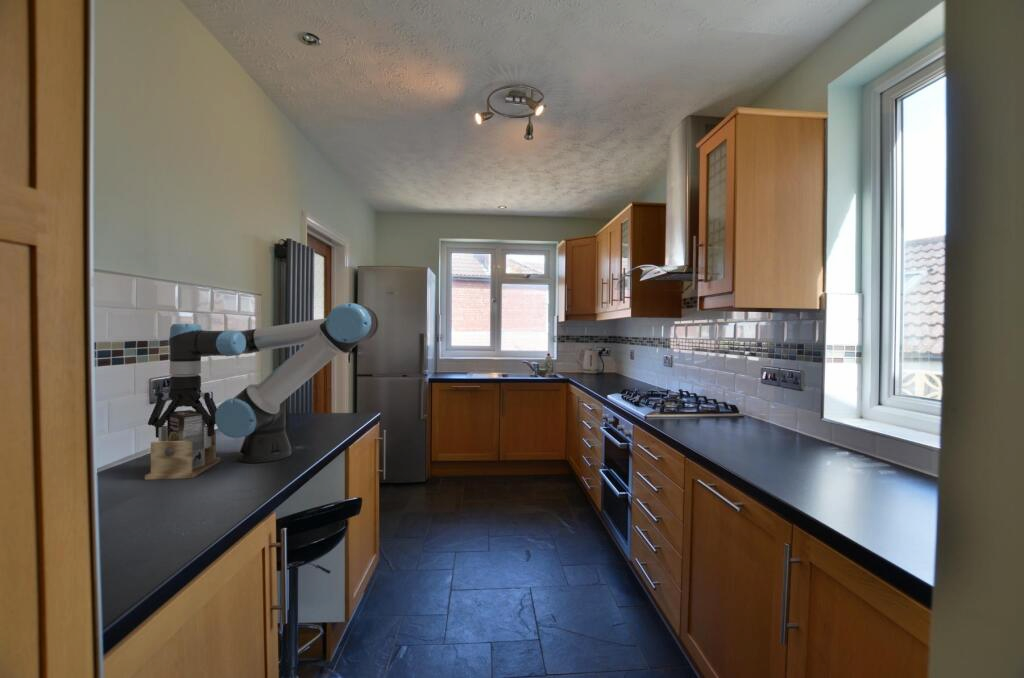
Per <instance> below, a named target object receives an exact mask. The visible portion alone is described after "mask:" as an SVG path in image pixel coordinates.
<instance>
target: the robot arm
mask: <svg viewBox="0 0 1024 678" xmlns="http://www.w3.org/2000/svg"><path fill="white" fill-rule="evenodd" d="M169 329H170V332H169V338H168V340H169V375H171V376H169V389H170V390H169V392H166V391H163V392H159V393H158V392H157V395H156V402H155V405H154V406H153V407H154V408H153V410H152V413H151V414H150V417H149V419H148V421H147V425H148V426H153V427H155V437H156V439H157V438H158V441H167V425H166V424H167V418H168V415H169V413H171V412H174V411H177V410H176V409H177V408H179V407H181V408H182V407H186V408H187V407H191V408H192V409H193V410H194V411H196V412H197V413H198V414H202V420H203V421H204V422H205V423H206V426H204V448H208V447H210V446H211V436H213V435H214V430H215V425H216V427H217V429H218V430H219V431H220V432H221V433H222V434H223V435H224V436H227V437H229V438H233V439H239V438H243V441H242V444H241V446H240V450H239V453H238V460H239V462H243V463H249V464H256V463H268V462H273V461H278V460H283V459H285V458H288V457H289V456H291V454H292V447H291V443H290V440H289V438H288V435H287V433H286V421H287V420H286V418H287V417H286V416H287V412H286V411H287V410H286V408H287V406H286V405H287V402H286V401H287V399H288V397H290V396H291V395H292V394H294V393H295V392H296V391H297V390H298V389H300V388H301V386H303V385H305V383H306V382H308V381H309V380H310V379H311V378H312V377H313V376H314V375H316V374H317V373H318V372H319V371H320V370H321V369H323V368H324V367H325V366H326V365H327V364H329V363H330V362H331V361H332V360H333V359H334V358H336V356H338V355H339V354H348V353H349V352H350V351H351V350H353V349H354V348H355V347H356V346H357V345H358V344H359V343H361V342H365V341H368V340H370V339H371V338H372V337H374V336H375V335H376V333H377V331H378V330H379V319H378V315H377V314H376V313H375V311H373V310H372V309H371V308H369V307H367V306H364V305H360V304H358V303H354V302H353V303H351V302H346V303H341V304H339V305H337V306H335V307H333V308H332V309H331V310H330V312H329V313H328V314H327V317H325V318H319V319H312V320H305V321H299V322H294V323H293V322H292V323H285V324H279V325H274V326H267V327H260V328H252V329H245V330H203V329H202V325H201V324H199V323H173V324H172V325H170V328H169ZM300 345H303V346H301V347H300V348H299V349H298V350H296V352H295V353H293V354H292V355H291V356H290V357H288V358H287V359H286V360H284V362H283V363H281V364H280V365H279V366H278V367H276V369H275V370H273V371H272V372H270V373H269V375H268V376H267V375H266V377H265V378H264V379H262V381H260V382H259V383H257V384H255V383H251V384H249V385H247V386H246V387H245V388H244V389H242V390H241V391H240V392H239V393H238V394H236V396H234V397H232V398H227V400H225V401H222V402H221V403H220V405H219V406H218V407H217V405H216V403H215V401H214V399H213V398H214V393H213V391H208V392H207V391H206V392H203V391H202V390H201V389H202V388H201V387H202V376H201V375H200V374H201V373H202V357H203V356H213V357H214V356H215V357H216V356H217V357H219V356H220V357H223V356H224V357H233V356H235V357H236V356H237V357H238V356H241V355H242V354H243V355H244V354H245V355H249V354H252V353H257V352H263V351H269V350H276V349H283V348H288V347H296V346H300ZM200 398H202V400H203V401H204V404H205V406H206V407H204V405H203V403H202V401H201V400H200ZM169 399H170V400H171V402H170V403H169V404H168V406H167V408H166V409H165V411H164V412H163V410H164V408H165V405H166V403H167V400H169ZM206 408H207V410H208V411H207V410H206ZM162 412H163V413H162ZM205 413H206V414H205Z"/></svg>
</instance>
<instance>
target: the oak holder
mask: <svg viewBox="0 0 1024 678" xmlns="http://www.w3.org/2000/svg"><path fill="white" fill-rule="evenodd" d="M216 435H217V430H215V429H214V435H213V436H211V446H210V447H208V448H205V465H204V466H200V467H196V468H192V455H193V440H192V441H159V440H158V441H157V440H155V441H152V442H150V472H149V473H147V474H145V475H144V480H168V479H169V480H174V479H193V478H195V477H196V476H198V475H200V474H202V473H203V472H205V471H206V470H208V469H210V468H212V467H213V466H215V465H217V464H218V463H220V462H221V457H216V456H217V455H216V453H217V450H216V449H217V448H216V447H217V437H216Z"/></svg>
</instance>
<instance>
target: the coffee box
mask: <svg viewBox="0 0 1024 678" xmlns="http://www.w3.org/2000/svg"><path fill="white" fill-rule="evenodd" d="M205 414H206V413H205ZM166 426H167V441H192V440H193V455H192V468H196V467H200V466H204V465H205V448H204V426H207V425H206V423H205V422H204V421H203V420H202V414H198V413H197V412H196V410H194V409H193V410H192V409H186V410H175V411H174V412H171V413H169V415H168V418H167V421H166Z"/></svg>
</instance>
